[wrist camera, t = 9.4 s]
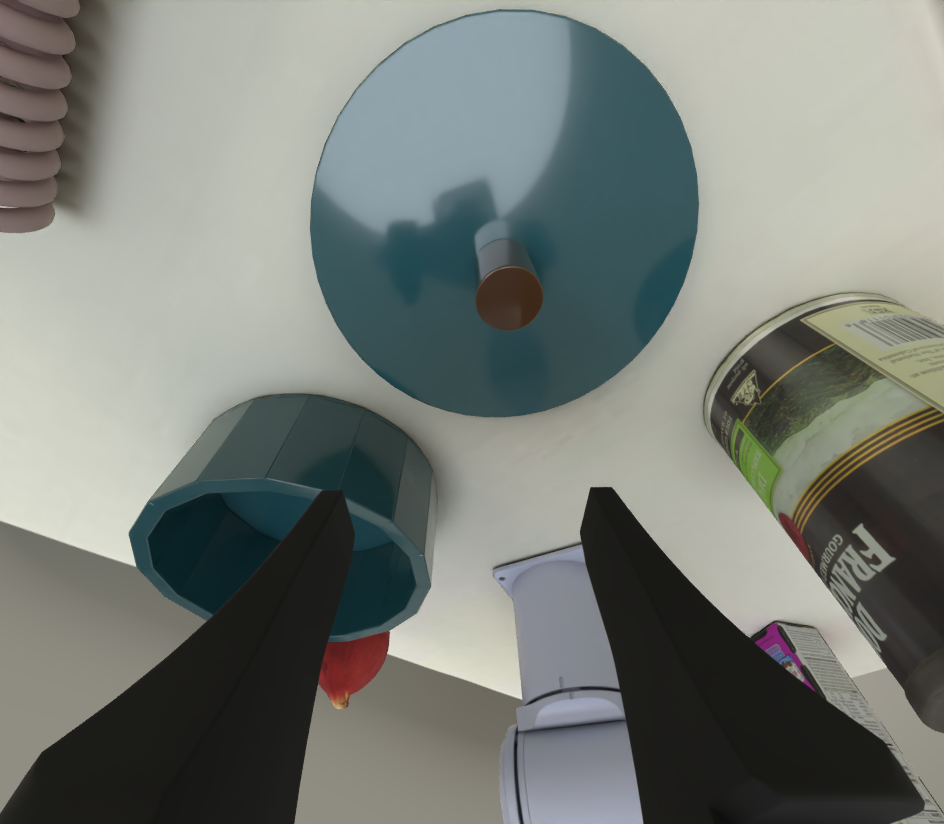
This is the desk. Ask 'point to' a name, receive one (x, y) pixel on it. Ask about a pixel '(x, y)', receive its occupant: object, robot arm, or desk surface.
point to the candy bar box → (837, 693)
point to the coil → (32, 108)
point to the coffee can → (852, 465)
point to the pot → (293, 508)
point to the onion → (351, 666)
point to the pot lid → (504, 213)
